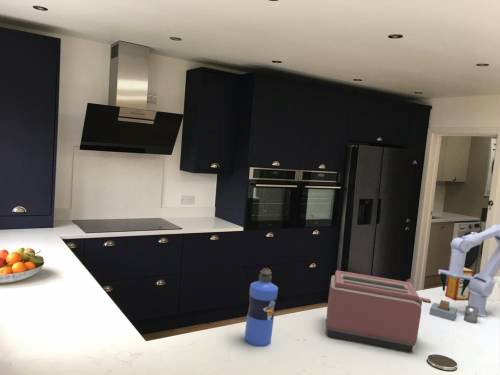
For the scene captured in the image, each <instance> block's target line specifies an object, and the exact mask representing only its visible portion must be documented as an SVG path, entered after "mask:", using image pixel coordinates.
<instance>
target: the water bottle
mask: <svg viewBox="0 0 500 375" xmlns="http://www.w3.org/2000/svg"><path fill="white" fill-rule="evenodd" d="M272 274H273V272H272V271H271V269H269V268H268V267H267V268H266V267H265V268H263V269H262V270H260V271H259V275H258V280H257V281H254V282H251V283H250V286H249V294H248V295H249V307H248V311H247V315H246V321H245V324H246V325H245V331H244V341H245V343H247V344H248V345H250V346H252V347H253V346H254V347H262V348H263V347H268V346H270V345H271V343H272V335H273V334H272V333H273V327H274V321H275V320H274V319H275V318H274V315H275V314H274V312H275V311H274V309H275V304H276V301H277V298H278V290H279V287H278V286H277V285H275V284H274V283H272V278H273V277H272Z"/></svg>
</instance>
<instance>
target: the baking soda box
mask: <svg viewBox="0 0 500 375" xmlns="http://www.w3.org/2000/svg"><path fill="white" fill-rule="evenodd" d="M449 270H450V268H449V269H448V271H449ZM474 273H475V270H472V269H470V268H467V267H465V266H464V270H463V274H464V275H468V276H471V277H473V276H474V275H475V274H474ZM463 281H464V280H463V279H459V278H455V277H450V276H447V280H446V286H445V297H447V298H448V299H450V300H453V301H469V296H470V292H469V289H468V287H466V289H465V290H464V293H463V296H461V292H462V287H463Z"/></svg>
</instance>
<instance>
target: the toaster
mask: <svg viewBox="0 0 500 375" xmlns="http://www.w3.org/2000/svg"><path fill="white" fill-rule="evenodd" d="M328 292H329V293H328V300H327V307H326V318H325V320H326V324H327V337H328V338H331V339H337V340H342V341H347V342H354V343H358V344H363V345H369V346H372V347H378V348H384V349H387V350H388V349H389V350H393V351H394V350H395V351H399V352H404V353H409V354H410V353H412V352H413V346H415V345H416V343H417V341H418V334H419V329H420V322H421V315H422V304H423V303H427V304H431V303H432V300H431V299H430V298H426V297H421V296H419V294H418V292H417V291H416V289H415V287H414V286H413V284H412V282H409V281H404V280H403V281H402V280H396V279H392V278H385V277H379V276H373V275H367V274H360V273H356V272H355V273H354V272H349V271H342V270H335V273H334V275H331V278H330V284H329V291H328Z"/></svg>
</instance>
